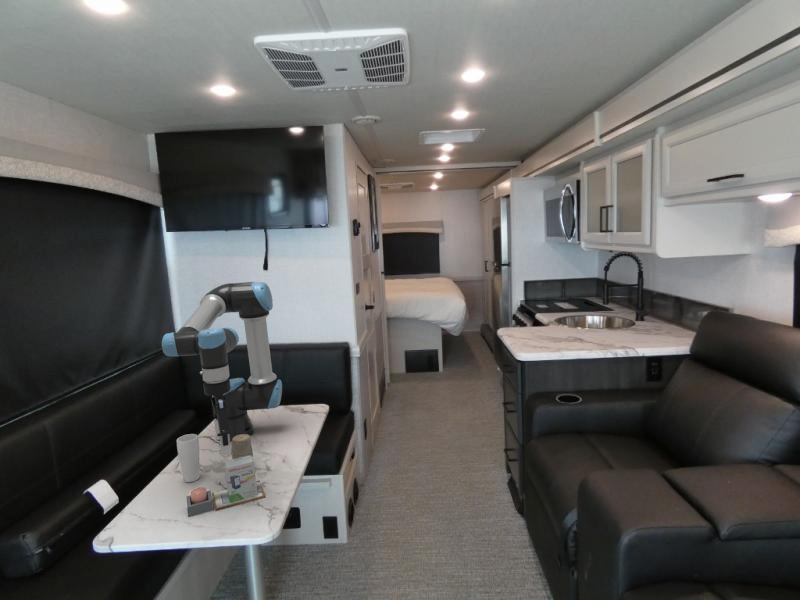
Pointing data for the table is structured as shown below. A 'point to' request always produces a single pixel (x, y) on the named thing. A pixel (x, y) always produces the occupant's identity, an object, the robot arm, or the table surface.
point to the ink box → (240, 478)
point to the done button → (198, 495)
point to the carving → (241, 446)
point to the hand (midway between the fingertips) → (223, 446)
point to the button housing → (199, 505)
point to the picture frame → (223, 501)
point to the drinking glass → (189, 457)
